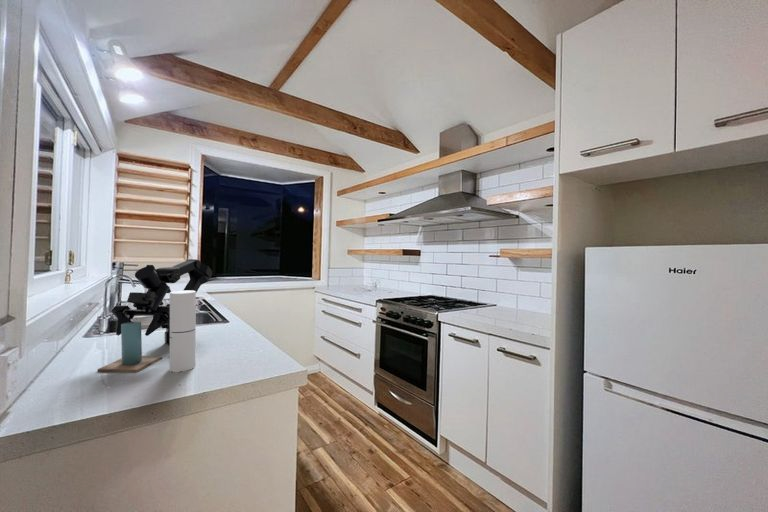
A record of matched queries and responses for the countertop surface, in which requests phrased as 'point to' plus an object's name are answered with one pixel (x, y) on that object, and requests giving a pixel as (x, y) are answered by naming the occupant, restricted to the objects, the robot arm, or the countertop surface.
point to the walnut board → (137, 367)
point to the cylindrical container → (182, 330)
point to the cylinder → (131, 343)
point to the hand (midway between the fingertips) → (131, 335)
